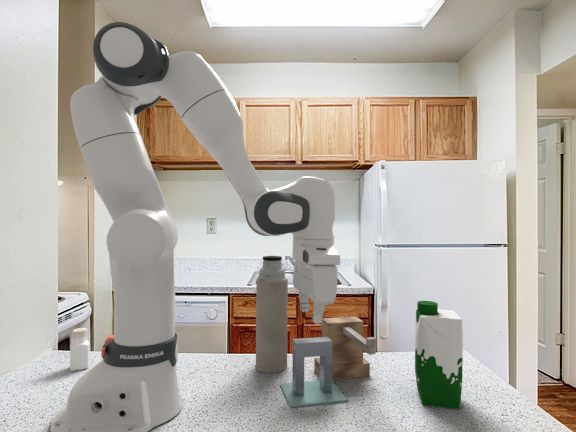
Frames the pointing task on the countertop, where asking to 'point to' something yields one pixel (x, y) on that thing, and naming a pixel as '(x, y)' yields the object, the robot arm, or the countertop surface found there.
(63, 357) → the countertop surface
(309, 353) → the grey arched block
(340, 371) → the wooden peg hook block
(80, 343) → the salt shaker
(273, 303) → the thermos bottle
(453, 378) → the milk carton
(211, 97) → the robot arm
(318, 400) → the mat
